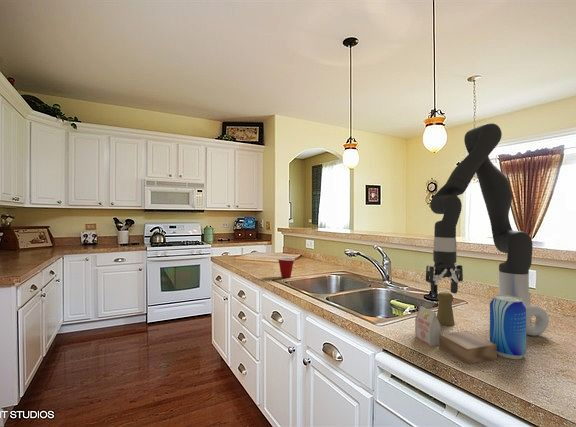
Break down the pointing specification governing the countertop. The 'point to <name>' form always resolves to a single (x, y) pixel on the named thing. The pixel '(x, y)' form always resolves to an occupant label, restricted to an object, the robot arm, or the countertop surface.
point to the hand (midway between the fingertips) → (444, 293)
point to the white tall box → (427, 326)
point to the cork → (445, 309)
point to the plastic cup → (286, 266)
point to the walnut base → (468, 347)
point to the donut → (540, 322)
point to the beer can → (508, 326)
